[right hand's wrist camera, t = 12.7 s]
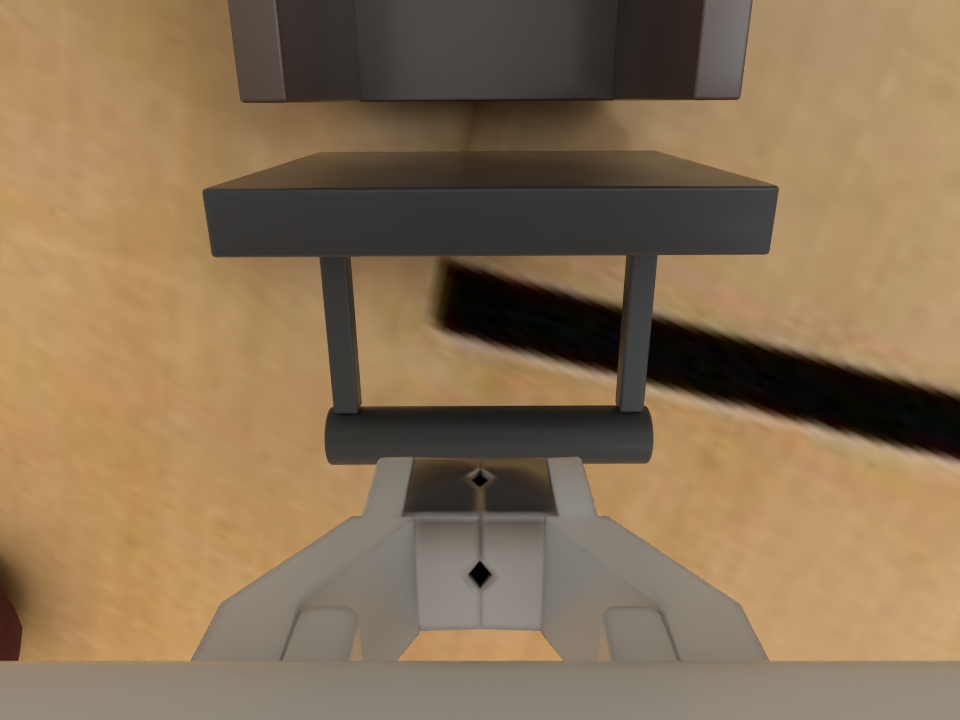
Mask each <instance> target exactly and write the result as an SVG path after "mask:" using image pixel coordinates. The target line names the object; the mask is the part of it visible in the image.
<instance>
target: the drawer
mask: <svg viewBox="0 0 960 720" xmlns="http://www.w3.org/2000/svg"><path fill="white" fill-rule="evenodd" d="M752 1H753V0H228V6H229V14H230V22H231V30H232V38H233V46H234V54H235V62H236V70H237V78H238V85H239V93H240V100H241V102H243V103H285V102H434V101H601V100H738V99H739V98H740V96H741V88H742V80H743V72H744V64H745V56H746V48H747V40H748V32H749V24H750V16H751V8H752ZM778 191H779V189H778V186H775V185H772V184H768V183H765V182H762V181H758V180H755V179H751V178H748V177H744V176H741V175H737V174H734V173H730V172H727V171H723V170H720V169H716V168H713V167H709V166H706V165H702V164H699V163H695V162H692V161H688V160H685V159H681V158H678V157H674V156H671V155H667V154H664V153H661V152H657V151H511V152H336V153H316V154H313V155H310V156H307V157H304V158H301V159H297V160H294V161H291V162H288V163H285V164H282V165H279V166H275V167H272V168H269V169H266V170H263V171H260V172H256V173H253V174H250V175H247V176H244V177H241V178H238V179H234V180H231V181H228V182H225V183H222V184H219V185H216V186H212V187H209V188H206V189H204V190H203V199H204V206H205V212H206V219H207V225H208V232H209V238H210V245H211V251H212V255H213V256H214V257H320V266H321V277H322V288H323V298H324V309H325V320H326V330H327V341H328V352H329V362H330V373H331V384H332V394H333V405H334V407H332V408H330V410H329V412H328V415H327V418H326V424H325V451H326V456H327V460H328V462H329V463H330V464H332V465H377V462H378V460H379V459H380V458H383V457H413V458H468V459H503V458H544V457H546V458H559V457H579V458H581V459H582V463H583V464H638V463H648V462H649V461H650V458H651V455H652V450H653V425H652V419H651V415H650V412H649V410H648V408H647V407H646V406H644V397H645V386H646V375H647V364H648V353H649V343H650V332H651V321H652V310H653V299H654V288H655V277H656V266H657V255H749V254H768V253H769V250H770V243H771V237H772V230H773V223H774V217H775V210H776V204H777V197H778ZM554 255H626V268H625V281H624V294H623V308H622V321H621V335H620V348H619V361H618V375H617V388H616V404H617V406H386V407H360V406H361V403H362V401H361V388H360V375H359V362H358V349H357V336H356V323H355V310H354V297H353V284H352V270H351V257H360V256H554Z"/></svg>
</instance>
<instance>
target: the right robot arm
mask: <svg viewBox="0 0 960 720" xmlns="http://www.w3.org/2000/svg"><path fill="white" fill-rule="evenodd" d="M462 629H497V630H533V631H542V635H543V636H544V637H545V638H546V640H547V641H548V642H549V643H550V645H551V646H552V647H553V648H554V649H555V651H556V652H557V653H558V654H559V656H560V657H561V658H562V659H563V661H397V660H398V659H399V657H400V656H401V655H402V654H403V653H404V651H405V650H406V649H407V648H408V646H409V645H410V644H411V643H412V642H413V640H414V639H415V638H416V637H417V635H418V634H419V632H418V631H426V630H462ZM0 720H960V661H769V659H768V657H767V655H766V653H765V651H764V649H763V647H762V645H761V644H760V642H759V640H758V638H757V636H756V634H755V632H754V630H753V628H752V626H751V624H750V622H749V620H748V618H747V617H746V615H745V613H744V611H743V609H742V607H741V605H740V604H739V603H737V602H736V601H734V600H733V599H731V598H730V597H728V596H727V595H725V594H724V593H722V592H721V591H719V590H718V589H716V588H715V587H713V586H712V585H710V584H709V583H707V582H706V581H704V580H703V579H701V578H700V577H698V576H697V575H695V574H694V573H692V572H691V571H689V570H688V569H686V568H685V567H683V566H682V565H680V564H679V563H677V562H676V561H674V560H673V559H671V558H670V557H668V556H667V555H665V554H663V553H662V552H660V551H659V550H657V549H656V548H654V547H653V546H651V545H650V544H648V543H647V542H645V541H644V540H642V539H641V538H639V537H638V536H636V535H635V534H633V533H632V532H630V531H629V530H627V529H626V528H624V527H623V526H621V525H620V524H618V523H617V522H615V521H614V520H612V519H611V518H609V517H603V516H598V514H597V511H596V507H595V504H594V500H593V497H592V493H591V490H590V487H589V483H588V480H587V476H586V473H585V470H584V466H583V463H582V459H581V458H579V457H559V458H546V457H544V458H503V459H468V458H413V457H383V458H380V459H379V460H378V462H377V465H376V469H375V472H374V476H373V479H372V483H371V486H370V490H369V493H368V497H367V500H366V504H365V507H364V510H363V514H362V516H358V517H351V518H349V519H348V520H346V521H345V522H343V523H342V524H340V525H339V526H337V527H336V528H334V529H333V530H331V531H330V532H328V533H327V534H325V535H324V536H322V537H321V538H319V539H317V540H316V541H314V542H313V543H311V544H310V545H308V546H307V547H305V548H304V549H302V550H301V551H299V552H298V553H296V554H295V555H293V556H292V557H290V558H289V559H287V560H286V561H284V562H283V563H281V564H280V565H278V566H277V567H275V568H274V569H272V570H271V571H269V572H267V573H266V574H264V575H263V576H261V577H260V578H258V579H257V580H255V581H254V582H252V583H251V584H249V585H248V586H246V587H245V588H243V589H242V590H240V591H239V592H237V593H236V594H234V595H233V596H231V597H230V598H228V599H227V600H225V601H224V602H222V603H221V604H220V606H219V608H218V610H217V611H216V613H215V615H214V617H213V619H212V621H211V623H210V625H209V627H208V629H207V630H206V632H205V634H204V636H203V638H202V640H201V642H200V644H199V646H198V648H197V650H196V651H195V653H194V655H193V657H192V659H191V661H0Z"/></svg>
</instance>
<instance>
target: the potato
mask: <svg viewBox="0 0 960 720" xmlns="http://www.w3.org/2000/svg"><path fill="white" fill-rule="evenodd" d="M21 636H22V626H21V623H20V621H19V618H18V616H17V613H16V611H15V608H14V606H13V604H12V603H11V601H10V600H9V598H8V597H7V596H6V595H5V594H4V593H3V592H2V591H1V590H0V661H18V659H19V653H20V647H21Z"/></svg>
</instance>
